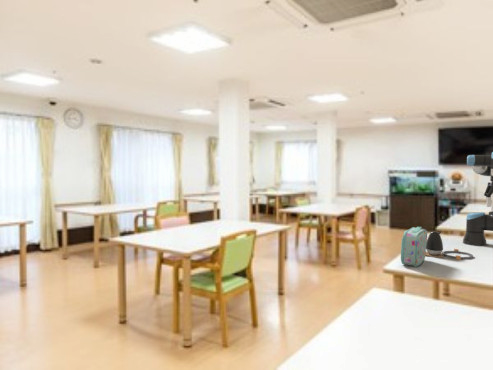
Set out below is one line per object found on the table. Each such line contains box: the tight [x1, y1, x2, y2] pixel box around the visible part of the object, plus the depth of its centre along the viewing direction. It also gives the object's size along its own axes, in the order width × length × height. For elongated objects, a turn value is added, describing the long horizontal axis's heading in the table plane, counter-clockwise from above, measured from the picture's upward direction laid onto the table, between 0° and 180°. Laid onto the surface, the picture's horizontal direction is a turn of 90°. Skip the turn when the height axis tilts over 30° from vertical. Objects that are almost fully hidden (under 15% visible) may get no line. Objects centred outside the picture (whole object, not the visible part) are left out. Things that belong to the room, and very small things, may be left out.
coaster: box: [425, 251, 445, 259], centre depth 255 cm, size 11×11×1 cm
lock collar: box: [442, 248, 474, 261], centre depth 254 cm, size 22×18×2 cm
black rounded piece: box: [426, 230, 444, 255], centre depth 254 cm, size 10×10×15 cm
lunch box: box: [400, 226, 428, 267], centre depth 235 cm, size 27×10×21 cm, turn 145°
